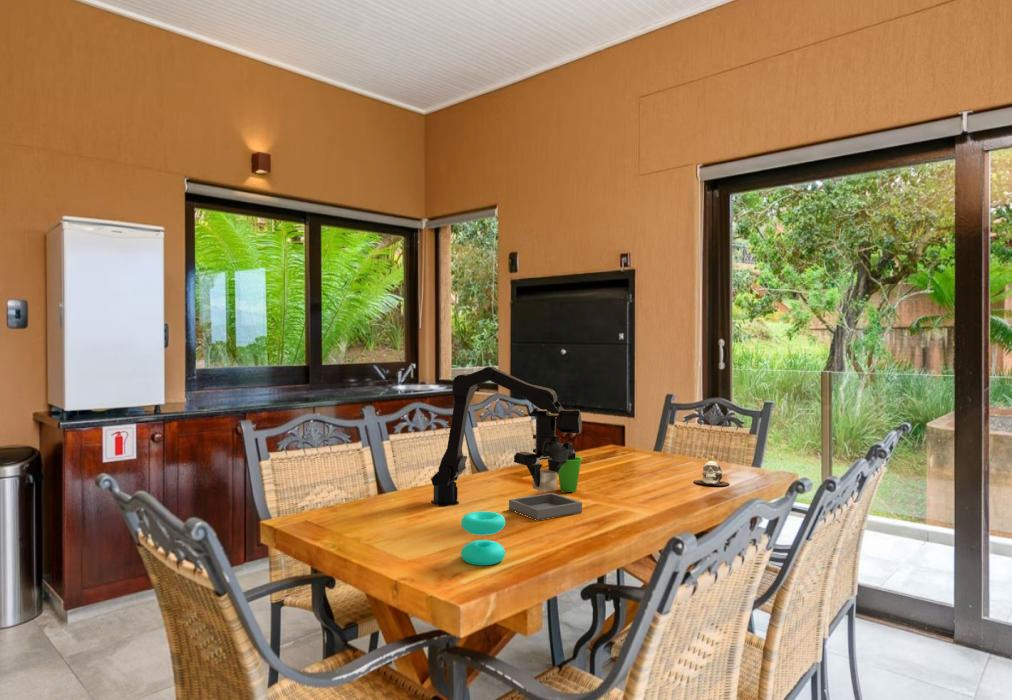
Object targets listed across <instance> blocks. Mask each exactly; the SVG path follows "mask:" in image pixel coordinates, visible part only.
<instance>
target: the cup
mask: <svg viewBox="0 0 1012 700" xmlns="http://www.w3.org/2000/svg"><path fill="white" fill-rule="evenodd" d="M582 460H583V457H582V456H576V459H573V460H566V461H567V463H564V464H563V465H562V466H561V467H560V470H559V472H558V475H557V477H558V481H559V489H560V491H563V492H562V493H565V492H573V493H576V492H575V491H577V488H578V481H579V478H580V477H579V476H580V469H581V465H582V464H581V463H582Z"/></svg>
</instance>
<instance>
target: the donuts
mask: <svg viewBox="0 0 1012 700" xmlns="http://www.w3.org/2000/svg"><path fill="white" fill-rule="evenodd" d="M460 522H461V525H460V526H461V527H462V528H463V530H464V531H466V533H470V534H472V535H475V536H477V535H478V536H488V535H489V536H490V535H493V534H497V533H499V532H501V531H502V530H503V529H504V528H505V526H506V518H505V517H504V516H503V515H502V514H501V513H499V512H498V513H497V512H496V511H495V512H494V511H489V510H488V511H487V510H483V511H482V510H481V511H479V510H478V511H473V512H469V513H467V514H465V515H464V516H463V517H462V518H461V521H460ZM460 555H461V559H462V560H464V562H466V563H468V564H470V565H474V566H492V565H495V564H498V563H500V562H501V561H503V560H504V558H505V556H506V551H505V548H504V546H503V545H502V544H500V543H499V542H497V541H494V540H489V539H479V540H478V539H477V540H473V541H470V542H469V543H468V542H467V544H465V545H464V546H463V547H462V549H461V552H460Z"/></svg>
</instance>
